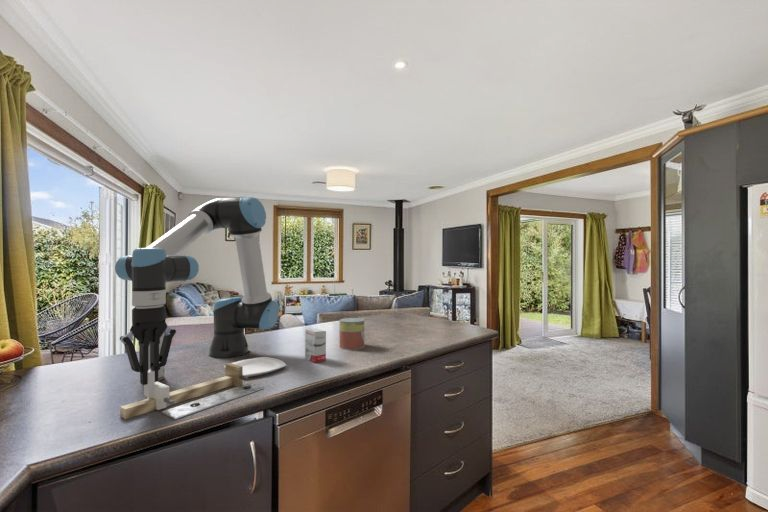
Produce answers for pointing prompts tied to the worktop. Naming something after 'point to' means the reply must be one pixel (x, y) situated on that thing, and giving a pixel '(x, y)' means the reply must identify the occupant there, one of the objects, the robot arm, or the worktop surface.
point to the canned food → (351, 333)
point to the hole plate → (211, 401)
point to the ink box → (315, 345)
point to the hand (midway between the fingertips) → (149, 395)
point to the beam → (188, 391)
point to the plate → (259, 366)
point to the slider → (162, 395)
